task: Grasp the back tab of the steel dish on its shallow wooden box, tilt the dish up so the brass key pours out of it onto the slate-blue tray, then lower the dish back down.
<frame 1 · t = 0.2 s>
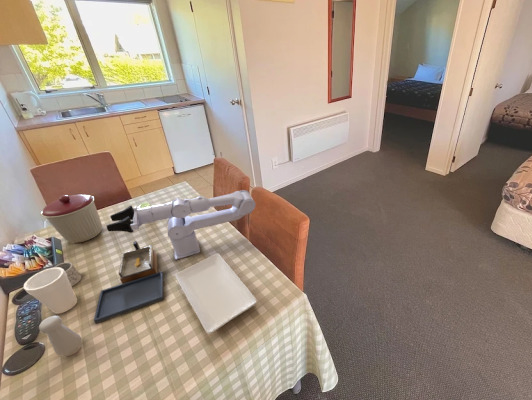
hand: (109, 223, 94), 21 cm above the table, tool horizontal, fingers open, 7 cm apart
canister: (86, 235, 122), on the table
foam cup: (65, 305, 89), on the table
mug: (64, 284, 97), on the table
shallow wooden box: (141, 269, 103), on the table
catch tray: (132, 296, 92), on the table
key: (138, 262, 101), point 4 cm above the table, touching dish
tray: (215, 293, 93), on the table
salt shaker: (72, 349, 76), on the table
dish: (136, 256, 101), point 6 cm above the table, hinge at -0.1°, touching key
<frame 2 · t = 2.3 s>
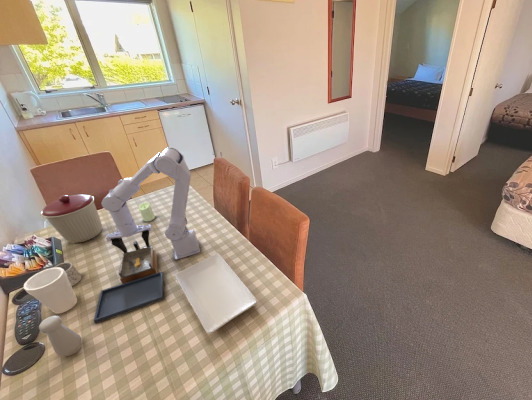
hand: (137, 249, 106), 5 cm above the table, tool pointing down
dish: (136, 256, 101), point 6 cm above the table, hinge at -0.3°, touching gripper, key, shallow wooden box
everything else where it was.
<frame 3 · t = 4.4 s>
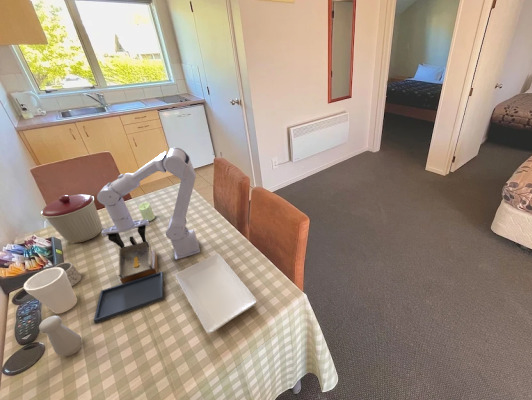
hand: (134, 244, 104), 8 cm above the table, tool pointing down, fingers closed on dish, 6 cm apart
key: (136, 262, 100), point 5 cm above the table, tilted 17°
dish: (134, 254, 99), point 7 cm above the table, hinge at 16.5°, touching gripper
everything else where it was.
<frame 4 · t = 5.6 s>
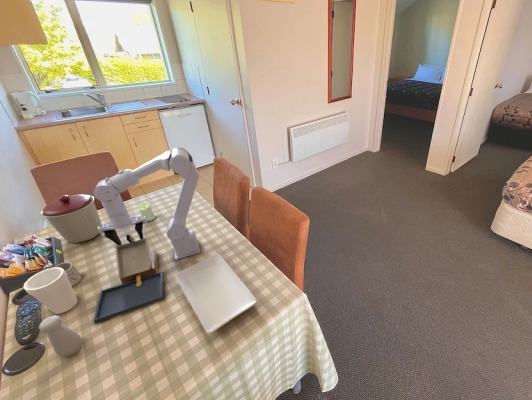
hand: (131, 242, 101), 11 cm above the table, tool pointing down, fingers closed on dish, 6 cm apart
key: (139, 280, 97), point 1 cm above the table, tilted 20°, touching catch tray
dish: (132, 254, 98), point 9 cm above the table, hinge at 31.5°, touching gripper
everything else where it was.
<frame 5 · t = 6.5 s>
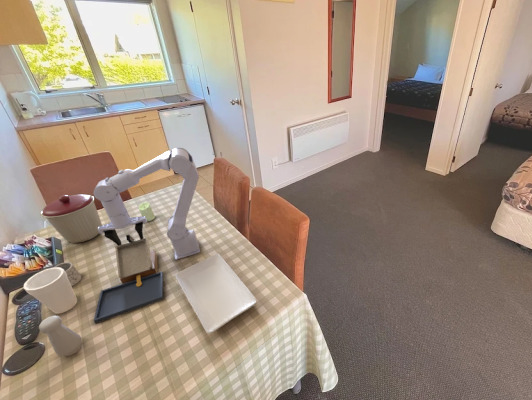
hand: (131, 242, 101), 11 cm above the table, tool pointing down, fingers closed on dish, 6 cm apart
dish: (132, 254, 98), point 9 cm above the table, hinge at 31.5°, touching gripper
everything else where it was.
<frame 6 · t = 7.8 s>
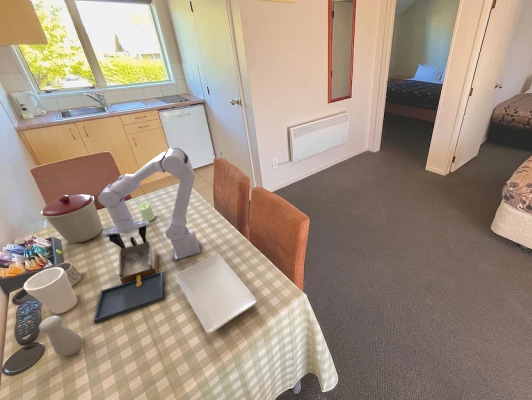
hand: (135, 245, 104), 7 cm above the table, tool pointing down, fingers closed on dish, 7 cm apart
dish: (134, 255, 100), point 7 cm above the table, hinge at 13.6°, touching gripper
everything else where it was.
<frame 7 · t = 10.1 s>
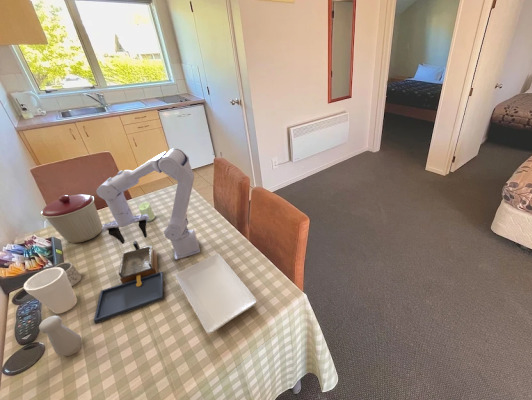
hand: (134, 239, 105), 9 cm above the table, tool pointing down, fingers open, 7 cm apart
dish: (136, 256, 101), point 6 cm above the table, hinge at 0.0°
everything else where it was.
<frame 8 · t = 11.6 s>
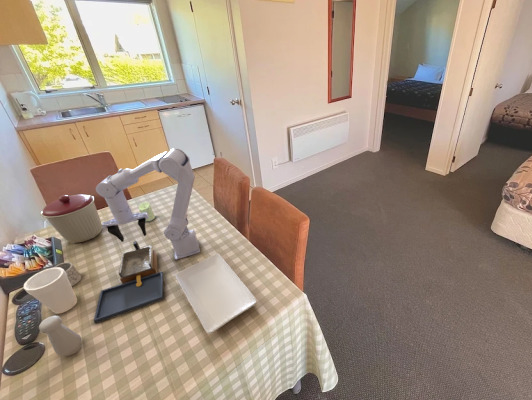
hand: (134, 237, 105), 9 cm above the table, tool pointing down, fingers open, 7 cm apart
nothing on the table moved.
at the end: dish reached +32° during the clip, +0° at the end; key touching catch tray; key inside the target area (6.2 cm from its centre), point 1.2 cm above the table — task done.
